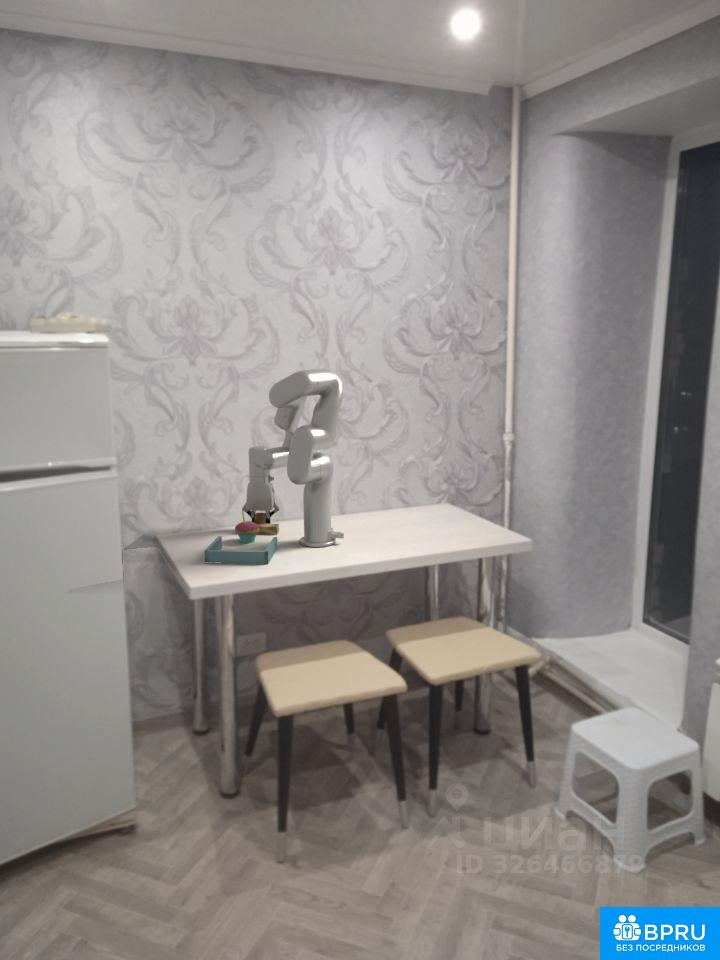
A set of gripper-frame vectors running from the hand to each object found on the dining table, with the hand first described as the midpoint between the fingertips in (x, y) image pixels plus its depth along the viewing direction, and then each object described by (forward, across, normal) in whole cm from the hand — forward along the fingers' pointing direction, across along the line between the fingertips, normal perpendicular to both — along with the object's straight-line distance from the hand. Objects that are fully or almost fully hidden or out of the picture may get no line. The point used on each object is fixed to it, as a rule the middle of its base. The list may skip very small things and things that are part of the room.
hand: (261, 527), depth 271 cm
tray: (+1, 0, +31) cm, 31 cm away
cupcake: (+1, +2, +15) cm, 15 cm away
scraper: (+1, 0, +2) cm, 2 cm away
